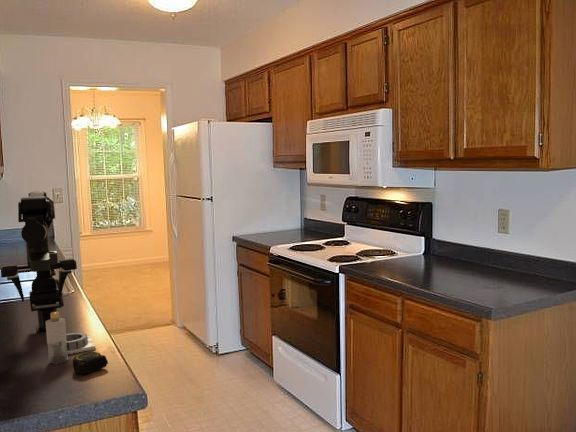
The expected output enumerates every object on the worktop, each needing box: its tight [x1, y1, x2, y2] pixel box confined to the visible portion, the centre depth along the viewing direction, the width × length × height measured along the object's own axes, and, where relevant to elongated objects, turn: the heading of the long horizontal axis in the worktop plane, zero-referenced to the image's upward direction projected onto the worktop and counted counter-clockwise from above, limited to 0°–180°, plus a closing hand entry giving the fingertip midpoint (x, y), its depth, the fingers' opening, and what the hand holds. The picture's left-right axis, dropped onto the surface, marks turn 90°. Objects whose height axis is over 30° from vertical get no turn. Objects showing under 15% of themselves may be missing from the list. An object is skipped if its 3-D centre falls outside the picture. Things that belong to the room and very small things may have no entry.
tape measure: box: [72, 351, 109, 374], centre depth 131 cm, size 7×7×4 cm
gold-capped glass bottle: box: [46, 311, 69, 365], centre depth 138 cm, size 4×4×12 cm
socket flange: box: [66, 332, 97, 355], centre depth 148 cm, size 11×11×3 cm
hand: (41, 298), depth 150 cm, fingers open, 9 cm apart
